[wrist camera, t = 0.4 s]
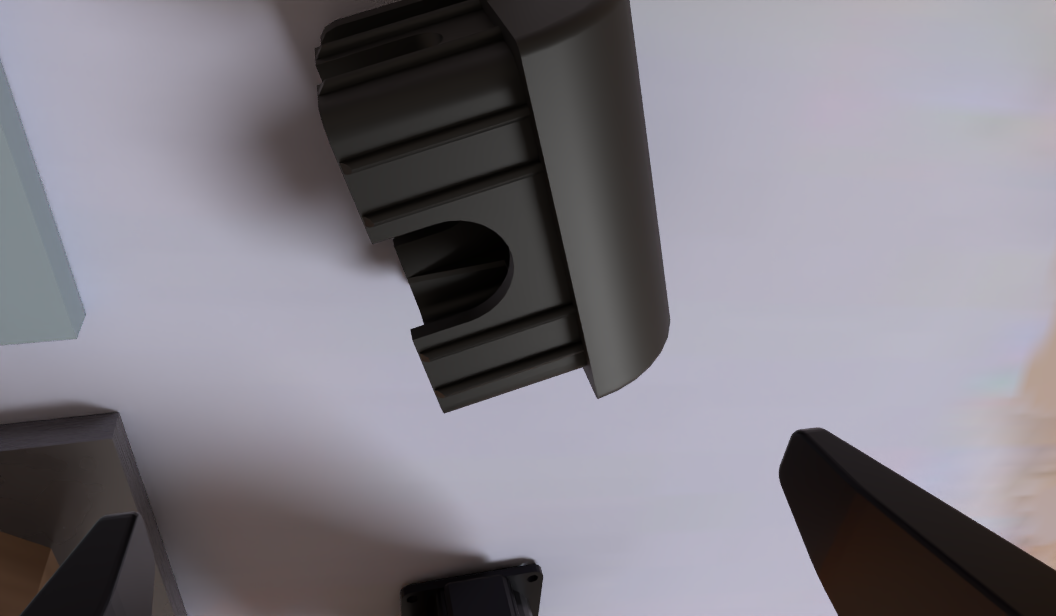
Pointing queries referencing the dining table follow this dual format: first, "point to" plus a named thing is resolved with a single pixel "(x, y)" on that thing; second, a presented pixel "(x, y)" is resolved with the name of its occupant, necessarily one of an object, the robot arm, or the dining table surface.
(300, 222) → the dining table surface
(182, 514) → the dining table surface
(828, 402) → the dining table surface
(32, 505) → the stand
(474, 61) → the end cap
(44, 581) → the sleeve
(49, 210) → the grey peg base
